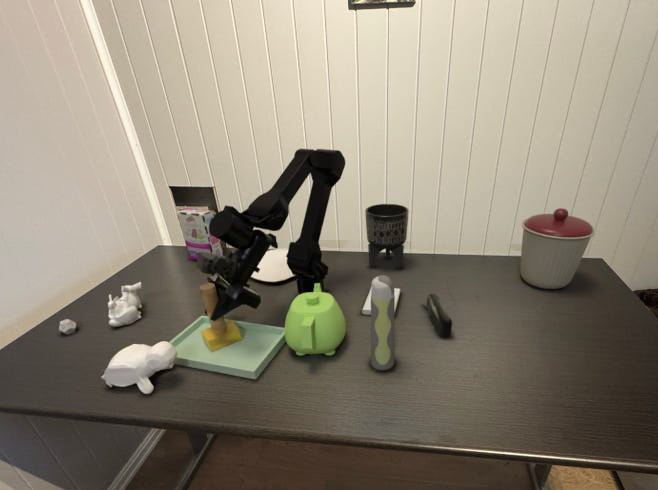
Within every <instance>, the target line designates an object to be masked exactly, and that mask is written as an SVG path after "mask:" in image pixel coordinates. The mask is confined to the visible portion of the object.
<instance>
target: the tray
mask: <svg viewBox="0 0 658 490" xmlns="http://www.w3.org/2000/svg"><path fill="white" fill-rule="evenodd" d="M224 320H225V322H226V321H229V320H231V321H232V322H233V323H234V324H235V325H236V326H237V327H238V328H239V330H240V334H241V338H242V340H240V341H237V342H235V343H232V344H230V345H227V346H225V347H222V348H220V349H217V350H215V351H212V352H211V351H210V349H209V348H208V347H207V345H206V344H205V343H204V341H203V338H202V334H201V331H202V330H205V329H207V328H210V327H211V324H210V321H209V317H208V315H201V316H199V317H198V318H197V319H195V320H194V321H193V322H192V323H191V324H190V325H188V326H187V327H186V328H184V330H182V331H181V332H179V333H178V334H177V335H176V336H175V337H173V338H172V339H171V340H170V341H168V343H170V344H171V345H173V347H174V348H175V349H176V350H177V353H178V355H177V358H176V359H175V360H174V362H173V364H174V365H177V366H183V367H188V368H194V369H197V370H204V371H208V372H214V373H219V374H224V375H230V376H235V377H240V378H245V379H251V380H257V379H258V378H259V376H260V375H261V374H262V372H263V371H264V370H265V369H266V368H267V366H268V365H269V364H270V362H272V360H273V359H274V357H275V356H276V355H277V354H278V352H279V351H280V350H281V348H282V347H283V346H284V345H285V343H287V342H286V339H285V327H280V326H276V325H268V324H261V323H255V322H250V321H249V322H248V321H241V320H235V319H229V318H224Z"/></svg>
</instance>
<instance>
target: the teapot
mask: <svg viewBox="0 0 658 490" xmlns="http://www.w3.org/2000/svg"><path fill="white" fill-rule="evenodd" d="M284 328H285V339H286V342H285V343H286V344H287V346H288V347H289V348H291V349H292V350H293V351H295V355H297V356H305V355H306V354H307V355H320V354H324V355H325V356H332V355H334V354H335V353H336V349H337V348H338V347H339V345H341V343H342V342H343V340H344V338H345V336H346V332H347V324H346V318H345V315H344V312H343V310H342V309H341V307H340V304H339V303H338V302H337V300H336V299H335V298H334V297H333V295H332V294H331V293H329V292H326V293H324V292H322V290H321V286H320V283H315V285H314V292H309V293H302V294H300V295H299V294H297V296H296V297H295V298H294V299H293V301H291V304H290V305H289V309H288V310H287V314H286V316H285V322H284Z"/></svg>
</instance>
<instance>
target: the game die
mask: <svg viewBox="0 0 658 490" xmlns="http://www.w3.org/2000/svg"><path fill="white" fill-rule="evenodd" d="M76 327H77V322H75V321H73V320H72V319H68V318H66V319H63V320H60V321H59V326H58V332H61V333H63V334H65V335H68V336H69V335H71V334H74V333H75V332H76Z"/></svg>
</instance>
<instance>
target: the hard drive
mask: <svg viewBox="0 0 658 490" xmlns="http://www.w3.org/2000/svg"><path fill="white" fill-rule="evenodd" d="M371 290H372V286H371V287H370V290H369V292H368V295H367V297H366V300H365V302H364V304H363V307H362V309H361V314H362V315H367V316H368V315H369V316H371ZM394 295H395V307H394V316H395V314H396V310H397V306H398V303H399V299H400V295H401V288H397V287H394Z"/></svg>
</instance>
